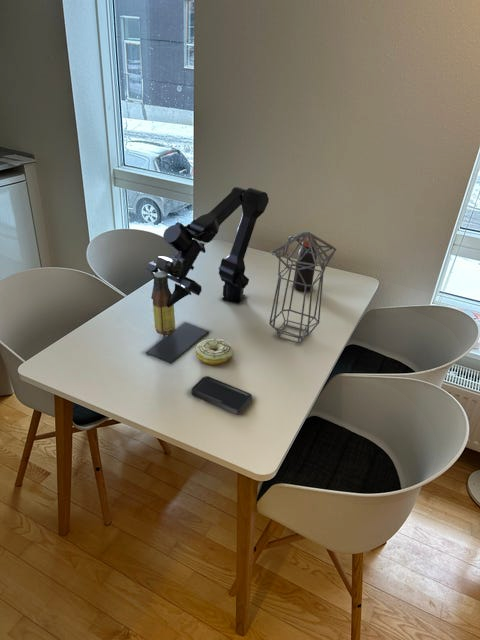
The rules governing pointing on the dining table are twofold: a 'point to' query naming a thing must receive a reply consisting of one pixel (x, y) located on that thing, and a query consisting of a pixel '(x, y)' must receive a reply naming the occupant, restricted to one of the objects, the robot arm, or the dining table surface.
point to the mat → (177, 342)
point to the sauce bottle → (162, 305)
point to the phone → (221, 394)
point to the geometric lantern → (315, 244)
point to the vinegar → (305, 273)
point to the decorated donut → (214, 351)
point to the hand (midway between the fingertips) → (159, 302)
